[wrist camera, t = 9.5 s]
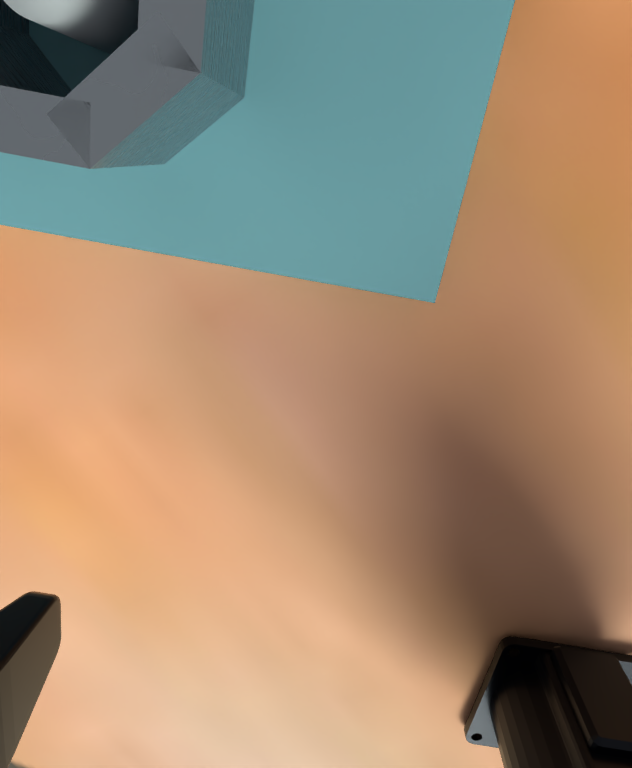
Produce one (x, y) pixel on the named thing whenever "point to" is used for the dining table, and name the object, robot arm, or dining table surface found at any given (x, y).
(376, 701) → the dining table surface
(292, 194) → the shaft base
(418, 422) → the dining table surface
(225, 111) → the block
